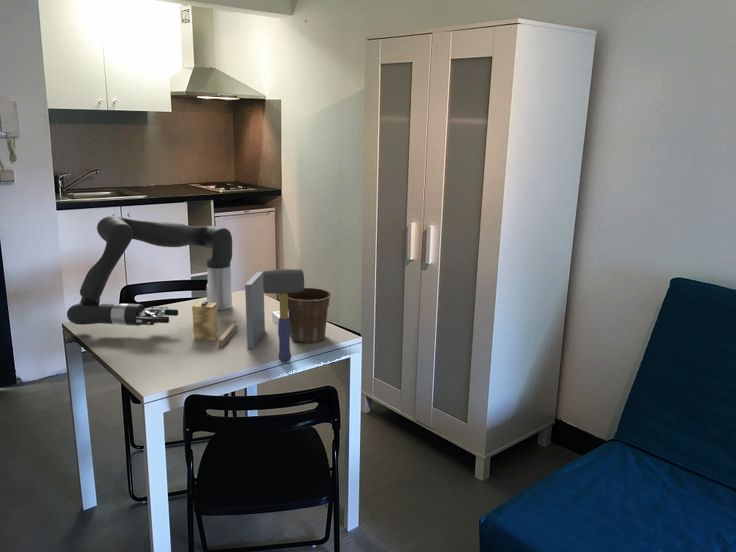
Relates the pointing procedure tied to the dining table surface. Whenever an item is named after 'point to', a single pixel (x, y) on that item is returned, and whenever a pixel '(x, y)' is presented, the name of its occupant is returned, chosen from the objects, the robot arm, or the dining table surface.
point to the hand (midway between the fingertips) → (173, 316)
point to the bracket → (276, 316)
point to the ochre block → (205, 321)
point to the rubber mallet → (283, 302)
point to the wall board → (250, 313)
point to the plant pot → (308, 314)
